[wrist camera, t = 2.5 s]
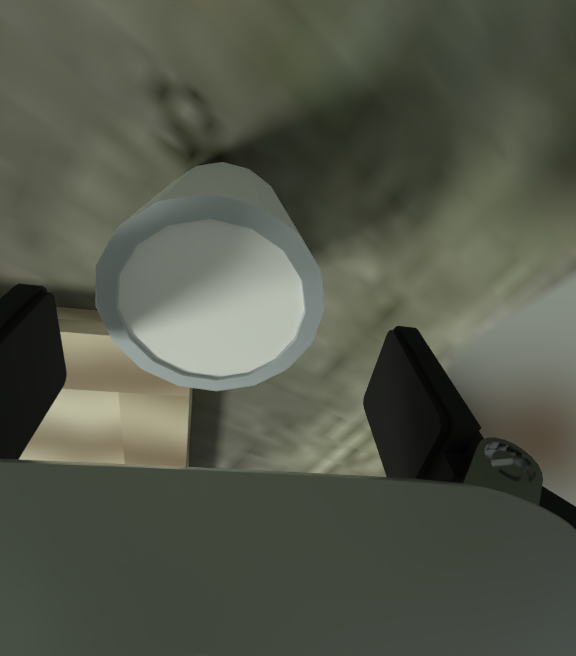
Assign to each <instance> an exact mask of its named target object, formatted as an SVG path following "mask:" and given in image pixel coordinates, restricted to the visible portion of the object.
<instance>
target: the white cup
mask: <svg viewBox="0 0 576 656" xmlns="http://www.w3.org/2000/svg"><path fill="white" fill-rule="evenodd" d="M96 308H97V310H98V312H99V315H100V317H101V319H102V321H103V323H104V325H105V327H106V329H107V331H108V334H109V336H110V338H111V340H112V342H113V343H114V344H115V345H116V346H117V347H118V348H119V349H120V350H122V351H123V352H124V353H125V354H126V355H127V356H128V357H129V358H130V359H131V360H132V361H133V362H135V363H136V364H137V365H138V366H139V367H140V368H141V369H142V370H144V371H147V372H149V373H151V374H153V375H155V376H158V377H160V378H162V379H164V380H166V381H169V382H171V383H173V384H175V385H177V386H183V387H190V388H197V389H205V390H212V391H221V390H228V389H235V388H241V387H248V386H254V385H256V384H258V383H260V382H262V381H265V380H267V379H269V378H271V377H273V376H275V375H277V374H279V373H281V372H283V371H285V370H287V369H288V368H289V367H290V366H291V365H292V364H293V363H294V362H295V361H296V360H297V359H298V358H299V357H300V355H301V354H302V353H303V352H304V351H305V350H306V349H307V348H308V347H309V346H310V345H311V344H312V342H313V339H314V337H315V334H316V331H317V329H318V326H319V324H320V321H321V318H322V316H323V313H324V310H325V309H324V296H323V284H322V272H321V270H320V268H319V267H318V265H317V263H316V262H315V260H314V258H313V256H312V255H311V253H310V251H309V249H308V248H307V246H306V244H305V242H304V241H303V239H302V237H301V236H300V234H299V232H298V230H297V229H296V227H295V225H294V224H293V222H292V220H291V219H290V217H289V215H288V214H287V212H286V210H285V209H284V207H283V205H282V204H281V202H280V200H279V199H278V197H277V195H276V194H275V192H274V190H273V189H272V187H271V185H269V184H268V183H267V182H265V181H264V180H263V179H262V178H260V177H259V176H258V175H256V174H255V173H254V172H252V171H251V170H250V169H247V168H244V167H240V166H236V165H232V164H229V163H225V162H219V163H213V164H206V165H199V166H196V167H194V168H192V169H191V170H189V171H188V172H186V173H185V174H183V175H182V176H180V177H179V178H177V179H176V180H174V181H173V182H172V183H171V184H170V185H168V186H167V187H166V188H165V189H163V190H162V191H161V192H160V193H159V194H157V195H156V196H155V197H154V198H153V199H151V200H150V201H149V202H148V203H146V204H145V205H144V206H143V207H142V208H140V209H139V210H138V211H137V212H136V213H134V214H133V215H132V216H131V217H129V218H128V219H127V220H126V221H125V222H123V223H122V224H121V225H120V226H119V227H117V229H116V231H115V232H114V234H113V236H112V238H111V240H110V241H109V243H108V245H107V247H106V248H105V250H104V252H103V254H102V256H101V257H100V259H99V261H98V263H97V265H96Z"/></svg>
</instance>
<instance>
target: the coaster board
mask: <svg viewBox="0 0 576 656" xmlns="http://www.w3.org/2000/svg"><path fill="white" fill-rule="evenodd" d="M56 310H57V316H58V322H59V328H60V334H61V340H62V346H63V352H64V359H65V365H66V371H67V377H66V382H65V384H64V386H63V388H62V390H61V391H60V393H59V394H58V396H57V398H56V399H55V401H54V403H53V404H52V406H51V407H50V409H49V411H48V412H47V414H46V416H45V417H44V419H43V420H42V422H41V424H40V425H39V427H38V429H37V430H36V432H35V434H34V435H33V437H32V438H31V440H30V442H29V443H28V445H27V447H26V448H25V450H24V451H23V453H22V455H21V456H20V458H19V460H44V461H68V462H91V463H114V464H137V465H160V466H181V467H188V466H189V447H190V429H191V410H192V391H193V388H190V387H183V386H177V385H175V384H173V383H171V382H169V381H166V380H164V379H162V378H160V377H158V376H155V375H153V374H151V373H149V372H147V371H144V370H142V369H141V368H140V367H139V366H138V365H137V364H136V363H135V362H133V361H132V360H131V359H130V358H129V357H128V356H127V355H126V354H125V353H124V352H123V351H122V350H120V349H119V348H118V347H117V346H116V345H115V344H114V343H113V342H112V340H111V338H110V336H109V334H108V331H107V329H106V327H105V325H104V323H103V321H102V319H101V317H100V315H99V312H98V310H89V309H78V308H67V307H57V306H56Z"/></svg>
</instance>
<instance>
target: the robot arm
mask: <svg viewBox="0 0 576 656" xmlns="http://www.w3.org/2000/svg"><path fill="white" fill-rule="evenodd" d="M66 377H67V371H66V365H65V359H64V352H63V346H62V340H61V334H60V328H59V322H58V316H57V310H56V304H55V298H54V295H53V294H52V293H50V292H47V290H46V288H45V287H44V286H36V285H27V284H17V285H15V286H14V287H13V288H12V289H11V290H10V291H9V292H8V293H6V294H5V295H4V296H3V297H2V298H1V299H0V656H576V507H575V506H574V505H572V504H570V503H569V502H567V501H565V500H564V499H562V498H561V497H559V496H557V495H556V494H554V493H553V492H551V491H549V490H547V489H546V488H544V487H543V486H542V482H543V476H542V471H541V469H540V467H539V465H538V464H537V463H536V461H535V460H534V459H533V458H532V457H531V456H530V455H529V454H528V453H527V452H526V451H524V450H523V449H521V448H520V447H518V446H517V445H515V444H513V443H511V442H509V441H506V440H503V439H500V438H485V439H484V438H483V437H482V435H481V434H480V432H479V430H480V429H481V427H480V425H479V424H478V422H477V420H476V419H475V417H474V416H473V414H472V413H471V411H470V410H469V408H468V406H467V405H466V403H465V402H464V400H463V399H462V397H461V396H460V394H459V393H458V391H457V390H456V388H455V386H454V385H453V383H452V382H451V380H450V379H449V377H448V376H447V374H446V372H445V371H444V369H443V368H442V366H441V365H440V363H439V362H438V360H437V359H436V357H435V355H434V354H433V352H432V351H431V349H430V348H429V346H428V345H427V343H426V342H425V340H424V339H423V337H422V335H421V334H420V332H419V331H418V330H417V329H416V328H412V327H403V326H397V327H395V328H394V330H390V331H389V332H388V333H387V336H386V338H385V341H384V344H383V347H382V349H381V352H380V355H379V357H378V360H377V363H376V366H375V368H374V371H373V374H372V377H371V379H370V382H369V385H368V387H367V390H366V393H365V396H364V401H363V405H364V410H365V413H366V416H367V419H368V422H369V425H370V428H371V431H372V434H373V437H374V440H375V443H376V446H377V449H378V452H379V455H380V458H381V461H382V464H383V467H384V470H385V473H386V476H387V477H375V476H357V475H339V474H320V473H302V472H283V471H263V470H243V469H223V468H202V467H181V466H160V465H137V464H114V463H91V462H68V461H44V460H19V458H20V456H21V455H22V453H23V451H24V450H25V448H26V447H27V445H28V443H29V442H30V440H31V438H32V437H33V435H34V434H35V432H36V430H37V429H38V427H39V425H40V424H41V422H42V420H43V419H44V417H45V416H46V414H47V412H48V411H49V409H50V407H51V406H52V404H53V403H54V401H55V399H56V398H57V396H58V394H59V393H60V391H61V390H62V388H63V386H64V384H65V382H66Z"/></svg>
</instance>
